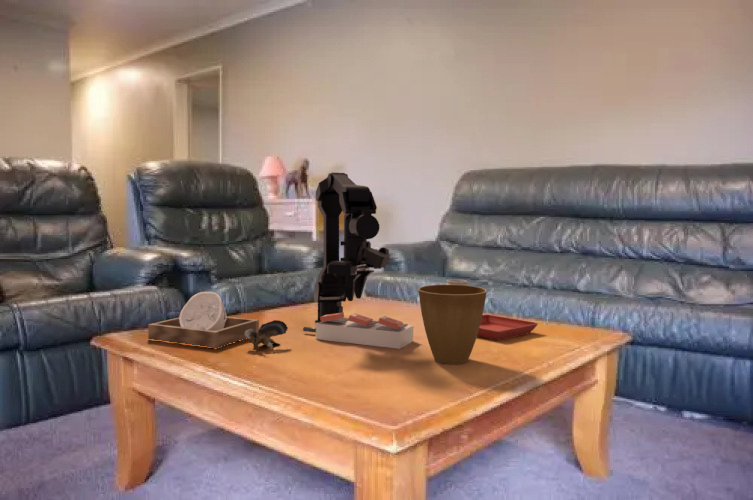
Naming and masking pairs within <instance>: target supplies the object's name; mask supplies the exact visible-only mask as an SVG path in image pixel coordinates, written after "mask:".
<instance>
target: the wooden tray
mask: <svg viewBox="0 0 753 500" xmlns="http://www.w3.org/2000/svg"><path fill="white" fill-rule="evenodd" d="M224 320H225V316H224ZM248 329H253V330H254V331H255V332H257V333H258V330H259V329H260V320H259V319H254V318H253V319H252V318H242V317H234V316H227V319H226V322H225V326H224V328H223V329H220V330H216V331H210V330H202V329H193V328H185V327H181V326H180V322H179V316H178V317H175V318H170V319H166V320H162V321H158V322H153V323H149V324H148V325H147V330H148V331H147V333H148V334H147V339H154V340H162V341H169V342H177V343H185V344H192V345H200V346H207V347H211V348H218V347H221V346H224V345H227V344H229V343H233V342H236V341H239V340H242V339H246V338H247V337H246V336H245V331H246V330H248ZM246 340H247V339H246ZM227 346H228V345H227ZM224 347H225V346H224ZM221 348H222V347H221ZM218 349H219V348H218Z"/></svg>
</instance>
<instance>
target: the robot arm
mask: <svg viewBox="0 0 753 500" xmlns="http://www.w3.org/2000/svg"><path fill="white" fill-rule="evenodd" d="M315 200H316V202H317V207H318V210H319V211H320V213H321V214H322V218H323V267H322V268H321V269H320V272H319V273H318V274H317V281H316V284H315V286H314V290H313V301H314V302H315V303H317V319H316V320H314V323H315V324H316V323H319V322H321V320H320V317H322V316H324V315H329V314H336V313H343V312H344V307H343V306H342V302H343V303H344V302H346V301H348V302H352V301H353V300H354V295H355V298H356V299H362V295H363V291H364V289H365V285H366V283H367V280H368V277H370V276H371V275H372V274H373V273H375V270H377V269H378V270H379V269H380V270H381V269H382V268H384V269H385V268H387V264H388V262H390V261H391V258H390V257H391V255H390V250H389V248H387V247H384V246H382V247H380V248H379V249H377V248H373V247H371V246H372V244H371V242H370V241H369V240H371V239H373V238H375V237H377V235H378V234H379V232H380V223H379V221H378V219H377V218H376V217H375V216H374V215H375V214H376V215H377V208H378V207H377V204H376V201H375V199H374V196H373V193H372V191H371V190H370V187H368V186H365V185H358V184H356V183H355V182H354V181H353V180H352V179H351V178H349V175H348V173H345V172H330V173H328V175H327V177H326V178H325V179H323V180H321V181H319V182H318V185H317V188H316V190H315ZM342 213H343V214H344V216H343V240H340V216H341V214H342ZM372 214H373V215H372ZM340 246H343V257H340ZM370 268H371V269H370ZM373 269H374V270H373Z"/></svg>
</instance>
